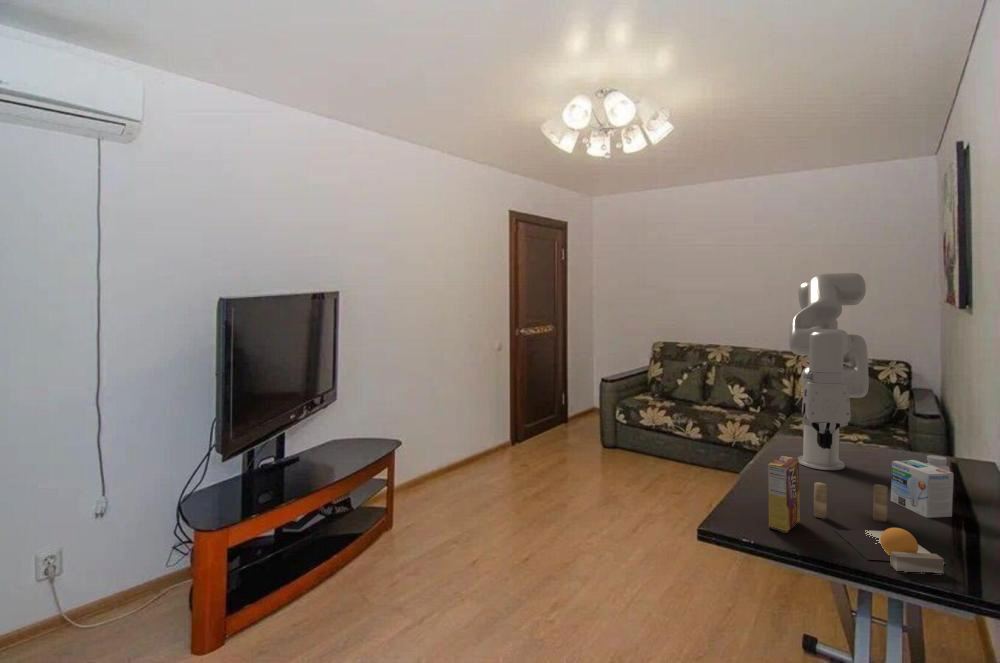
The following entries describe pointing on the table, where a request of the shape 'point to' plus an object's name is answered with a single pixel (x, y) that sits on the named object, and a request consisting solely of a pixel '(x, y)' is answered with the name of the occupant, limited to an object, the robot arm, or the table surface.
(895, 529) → the ball
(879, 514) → the post
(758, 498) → the table surface
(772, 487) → the candy box
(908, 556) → the stopper wall
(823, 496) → the post
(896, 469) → the light bulb box
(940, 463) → the supplement bottle
